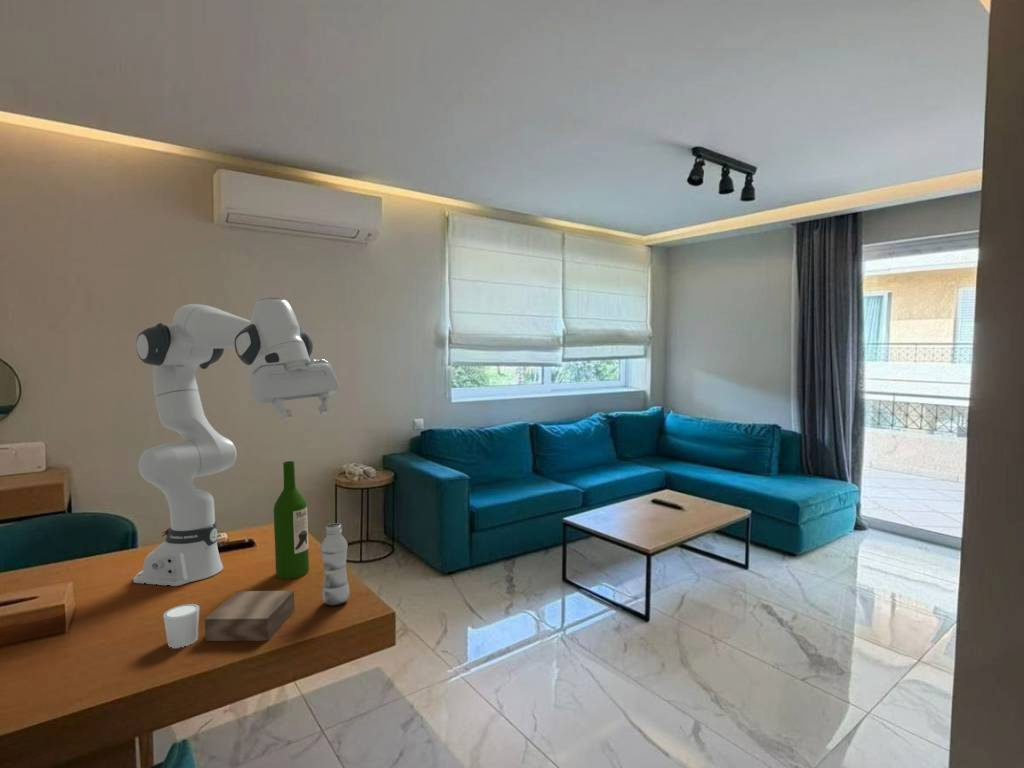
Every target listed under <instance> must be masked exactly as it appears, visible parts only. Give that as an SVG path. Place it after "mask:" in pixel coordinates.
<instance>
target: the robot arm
mask: <svg viewBox="0 0 1024 768" xmlns="http://www.w3.org/2000/svg"><path fill="white" fill-rule="evenodd" d="M135 343H136V346H135V347H136V348H135V349H136V353H137V355H138V358H139V359H140V360H141V362H143V363H144V364H146V365H150V366H153V371H152V385H153V387H152V388H153V394H154V395H153V396H154V399H155V405H156V409H157V415H158V419H159V423H160V424H161V425H162V426H163V427H164V428H166V429H167V430H171V431H174V432H176V433H178V434H179V435H180V437H182V439H183V440H182V441H177V442H176V441H175V442H169V443H168V442H167V443H163V444H162V443H161V444H159V445H155V446H153V447H150V448H147V449H145V450H144V451H143V452H142V454H140V457H139V460H138V464H137V466H138V471H139V474H140V476H141V477H142V479H144V480H145V482H147V483H149V484H152V485H153V486H155V487H156V488H157V489H159V490H160V491H161V493H163V495H164V496H165V498H166V500H167V504H168V509H169V517H170V527H168V528H167V529H165V531H162V532H161V534H162V535H161V537H165V539H164V541H163V542H162V543H161V544H159V545H158V546H157V547H156V548H154V549H153V550H152V551H151V552H150V553H148V554H147V555H146V556H145V558H144V561H143V563H142V564H143V565H142V570H141V571H139V572H138V573H137V574H136V575H134V577H133V580H132V581H133V583H134V584H144V583H146V585H156V584H157V586H158V585H159V586H167V585H170V586H169V587H177V586H182V585H185V584H188V583H191V582H195V581H200V580H204V579H207V578H211V577H213V576H215V575H217V574H218V573H220V572H222V570H223V569H224V564H223V562H222V559H221V557H220V556H221V555H220V552H219V549H218V547H219V546H218V524H217V521H216V518H215V516H216V515H215V512H216V511H215V499H214V497H213V495H212V494H211V493H210V492H208V491H206V490H204V489H201V488H197V487H196V486H195V483H194V482H195V481H194V479H195V478H199V477H205V476H210V475H214V474H218V473H220V472H223V471H226V470H228V469H230V468H232V467H233V466H234V464H235V463H236V459H237V457H238V456H237V448H236V446H235V444H234V442H233V441H232V440H230V438H227V437H225V436H223V435H222V434H220V433H219V432H218V431H216V430H215V428H214V427H213V426H212V425H211V423H210V422H209V420H208V419H207V417H206V415H205V412H204V407H203V404H202V400H201V396H200V391H199V386H198V383H197V379H196V371H197V368H198V367H199V368H201V370H207V369H208V368H209V366H210V365H213V364H214V363H216V362H217V361H219V359H221V357H222V356H223V354H224V351H225V349H235V352H236V355H237V357H238V358H239V360H240V361H241V362H242V363H243V364H244V365H247V366H249V367H248V373H249V375H251V377H250V379H249V386H250V390H251V394H252V398H253V401H255V402H256V403H257V404H260V405H261V404H268V403H272V406H273V408H274V409H275V410H276V411H277V412H278V413H280V415H281V419H282V420H288V419H291V418H292V416H293V414H292V413H291V408H288V409H287V408H286V407H285V406H284V404H283V403H284V401H286V402H287V401H293V400H300V399H301V400H302V399H310V398H318V399H319V401H321V405H320V406H319V407H317V409H318V411H319V414H320V415H324V414H327V413H329V412H330V409H329V406H328V405H329V399H330V396H333V395H334V394H336V393H338V392H339V391H340V386H341V385H340V381H339V380H338V378H337V376H336V373H335V371H334V370H333V368H332V364H331V363H330V362H328V361H327V360H325V359H322V358H319V359H310V357H311V356H312V353H313V350H314V345H313V341H312V338H311V337H310V335H309V334H308V332H306V330H305V329H303V328H302V327H300V325H299V321H298V319H297V316H296V314H295V311H294V310H293V307H292V306H291V304H290V303H289V301H287V299H284V298H277V297H268V298H262V299H259V300H258V301H256V302H255V303H254V305H253V314H252V317H251V319H250V320H249V319H247V318H243V317H240V316H238V315H235V314H233V313H231V312H228V311H225V310H223V309H220V308H217V307H214V306H211V305H206V304H199V303H191V304H189V303H188V304H185V305H182V306H181V307H179V308H178V309H177V310H176V311H175V313H174V315H173V319H172V322H171V324H163V323H162V322H159V323H157V324H156V325H154V326H151V327H148V328H145V329H143V330H142V331H141V332H140V333H139V334H138V336H137V338H136V342H135Z"/></svg>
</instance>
